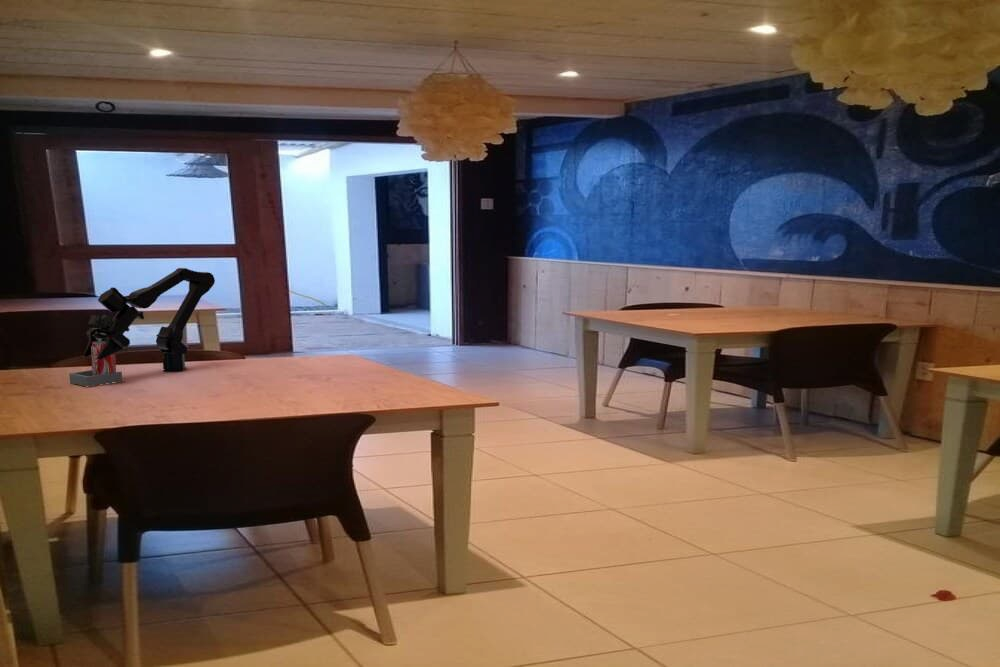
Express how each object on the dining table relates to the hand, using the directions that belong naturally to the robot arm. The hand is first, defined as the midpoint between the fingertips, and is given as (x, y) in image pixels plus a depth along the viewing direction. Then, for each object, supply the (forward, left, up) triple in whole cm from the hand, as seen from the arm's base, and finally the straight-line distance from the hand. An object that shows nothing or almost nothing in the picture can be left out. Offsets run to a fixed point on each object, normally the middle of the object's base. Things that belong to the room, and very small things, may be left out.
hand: (91, 357), depth 255 cm
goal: (-1, -1, -9) cm, 9 cm away
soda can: (-3, -2, -8) cm, 9 cm away
